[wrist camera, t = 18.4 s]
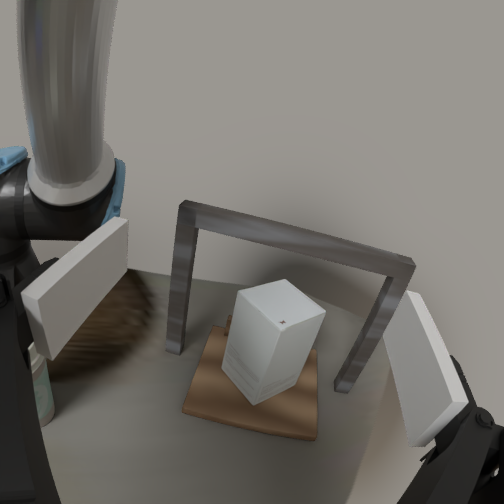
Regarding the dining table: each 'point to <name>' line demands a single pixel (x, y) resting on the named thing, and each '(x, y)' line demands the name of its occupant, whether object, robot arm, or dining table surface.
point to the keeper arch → (210, 365)
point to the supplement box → (270, 338)
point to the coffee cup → (41, 387)
